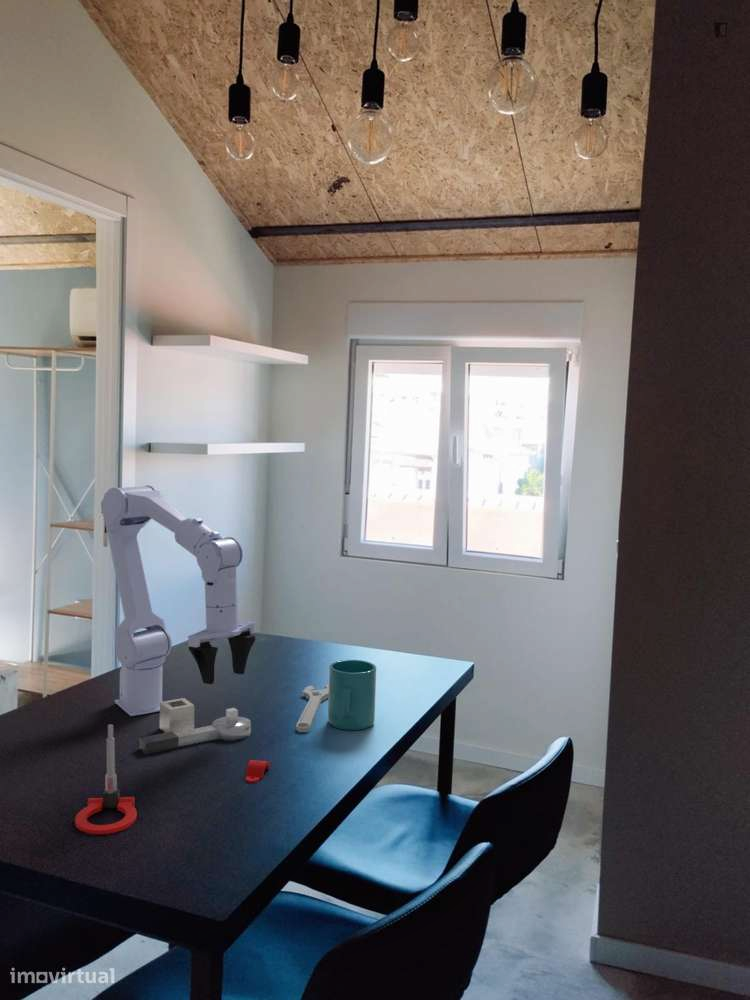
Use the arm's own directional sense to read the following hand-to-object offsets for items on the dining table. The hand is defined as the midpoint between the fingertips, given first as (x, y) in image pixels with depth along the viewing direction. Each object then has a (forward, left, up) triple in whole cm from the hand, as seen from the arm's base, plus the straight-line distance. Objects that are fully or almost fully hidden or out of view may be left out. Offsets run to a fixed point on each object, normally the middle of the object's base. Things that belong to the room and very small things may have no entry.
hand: (223, 678), depth 155 cm
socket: (-6, -7, -11) cm, 14 cm away
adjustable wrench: (-3, +20, -11) cm, 24 cm away
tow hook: (+22, -29, -11) cm, 37 cm away
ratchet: (+1, -5, -11) cm, 12 cm away
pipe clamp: (+19, -3, -11) cm, 22 cm away
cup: (+9, +22, -11) cm, 26 cm away
